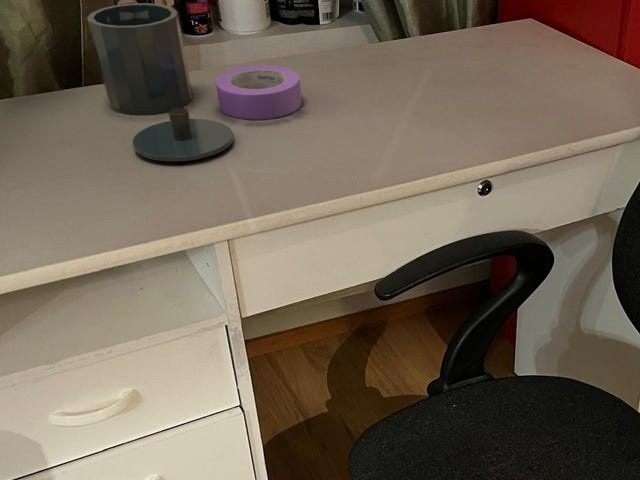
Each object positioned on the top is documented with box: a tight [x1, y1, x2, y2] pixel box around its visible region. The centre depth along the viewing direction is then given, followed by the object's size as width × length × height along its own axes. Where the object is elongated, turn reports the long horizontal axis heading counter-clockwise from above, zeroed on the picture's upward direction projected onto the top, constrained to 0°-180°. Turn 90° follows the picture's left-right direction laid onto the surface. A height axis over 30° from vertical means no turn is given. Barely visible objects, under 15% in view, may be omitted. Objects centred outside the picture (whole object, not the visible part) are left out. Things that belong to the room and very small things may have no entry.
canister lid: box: [132, 107, 234, 162], centre depth 112 cm, size 13×13×5 cm
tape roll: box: [215, 64, 303, 121], centre depth 124 cm, size 12×12×4 cm
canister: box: [86, 2, 193, 116], centre depth 122 cm, size 12×12×12 cm
